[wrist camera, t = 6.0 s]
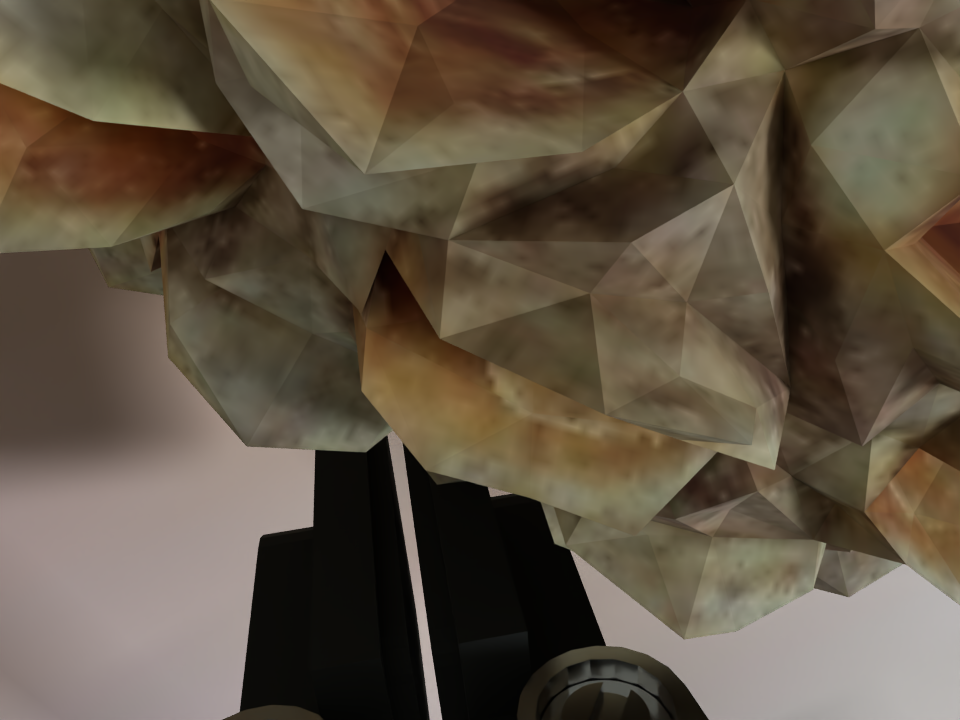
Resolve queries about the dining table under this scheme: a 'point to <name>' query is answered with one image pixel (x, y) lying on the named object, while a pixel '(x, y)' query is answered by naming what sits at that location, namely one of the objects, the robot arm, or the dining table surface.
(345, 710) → the robot arm
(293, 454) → the dining table surface
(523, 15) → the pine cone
